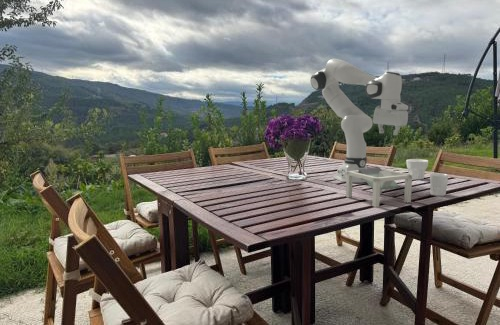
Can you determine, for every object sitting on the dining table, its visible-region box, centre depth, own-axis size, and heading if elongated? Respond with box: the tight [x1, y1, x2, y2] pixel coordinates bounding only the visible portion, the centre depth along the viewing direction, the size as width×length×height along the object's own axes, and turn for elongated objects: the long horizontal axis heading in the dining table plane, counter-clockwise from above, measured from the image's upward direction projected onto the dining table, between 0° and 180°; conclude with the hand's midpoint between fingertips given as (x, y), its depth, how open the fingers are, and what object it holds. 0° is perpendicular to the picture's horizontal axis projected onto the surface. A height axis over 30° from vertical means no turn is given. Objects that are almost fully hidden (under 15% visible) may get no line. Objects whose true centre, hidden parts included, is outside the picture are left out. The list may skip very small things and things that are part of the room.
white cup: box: [429, 172, 449, 197], centre depth 185 cm, size 8×8×10 cm
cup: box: [405, 158, 429, 180], centre depth 227 cm, size 12×12×11 cm
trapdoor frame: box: [345, 168, 413, 208], centre depth 175 cm, size 21×20×13 cm
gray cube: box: [377, 171, 393, 187], centre depth 171 cm, size 5×5×5 cm
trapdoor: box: [358, 167, 399, 190], centre depth 176 cm, size 14×14×3 cm
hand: (388, 134), depth 185 cm, fingers open, 8 cm apart
